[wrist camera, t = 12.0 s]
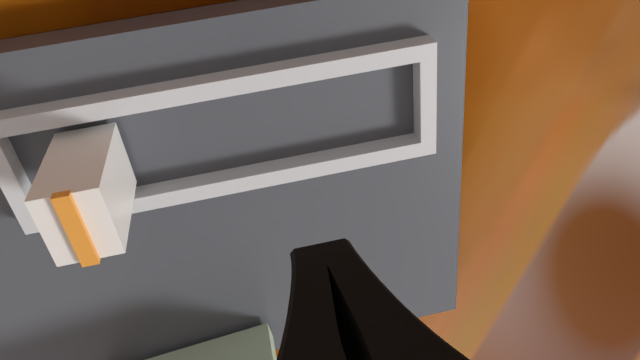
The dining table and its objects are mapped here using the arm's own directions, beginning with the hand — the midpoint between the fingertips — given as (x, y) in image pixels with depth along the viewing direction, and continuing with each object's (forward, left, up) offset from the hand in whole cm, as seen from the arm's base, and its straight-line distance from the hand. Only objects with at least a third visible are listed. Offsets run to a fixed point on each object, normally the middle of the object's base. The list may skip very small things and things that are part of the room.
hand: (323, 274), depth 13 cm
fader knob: (0, +6, -8) cm, 10 cm away
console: (-4, +4, -10) cm, 11 cm away
